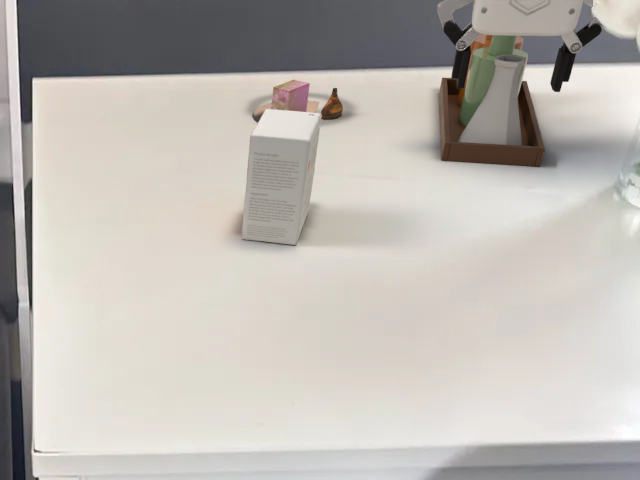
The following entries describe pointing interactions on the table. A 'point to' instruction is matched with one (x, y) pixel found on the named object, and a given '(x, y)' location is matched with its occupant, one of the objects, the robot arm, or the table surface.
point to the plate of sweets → (299, 101)
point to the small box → (280, 175)
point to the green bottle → (486, 73)
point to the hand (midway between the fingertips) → (506, 86)
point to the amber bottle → (483, 42)
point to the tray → (488, 153)
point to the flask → (498, 107)
